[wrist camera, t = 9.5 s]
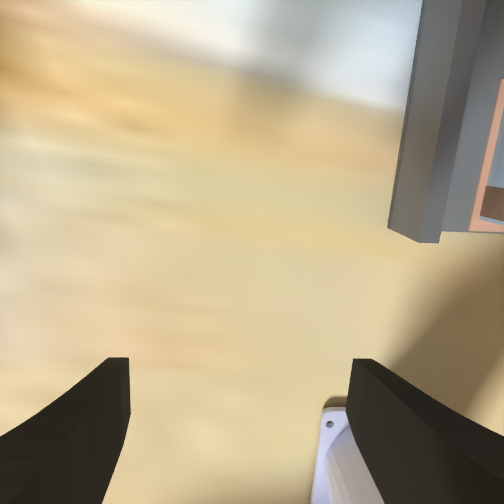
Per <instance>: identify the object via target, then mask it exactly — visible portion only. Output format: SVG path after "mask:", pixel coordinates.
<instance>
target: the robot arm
mask: <svg viewBox="0 0 504 504" xmlns="http://www.w3.org/2000/svg"><path fill="white" fill-rule="evenodd" d="M130 415H131V408H130V377H129V358H107V359H106V360H105V361H104V362H102V363H101V364H100V365H99V366H98V367H96V368H95V369H94V370H93V371H92V372H90V373H89V374H88V375H87V376H86V377H84V378H83V379H82V380H81V381H79V382H78V383H77V384H76V385H74V386H73V387H72V388H71V389H70V390H68V391H67V392H66V393H64V394H63V395H62V396H60V397H59V398H58V399H56V400H55V401H53V402H52V403H51V404H49V405H48V406H47V407H45V408H44V409H43V410H41V411H40V412H38V413H37V414H36V415H34V416H33V417H31V418H30V419H28V420H26V421H25V422H23V423H22V424H20V425H19V426H17V427H15V428H14V429H12V430H10V431H9V432H7V433H5V434H4V435H2V436H0V504H102V502H103V499H104V496H105V494H106V491H107V488H108V486H109V483H110V480H111V478H112V475H113V472H114V469H115V467H116V464H117V461H118V458H119V456H120V453H121V450H122V447H123V444H124V440H125V436H126V432H127V428H128V423H129V419H130ZM328 421H332V422H330V423H328V424H327V422H328ZM310 504H504V436H502V435H500V434H498V433H496V432H493V431H491V430H489V429H487V428H485V427H483V426H481V425H479V424H477V423H476V422H474V421H472V420H470V419H468V418H466V417H464V416H462V415H460V414H459V413H457V412H455V411H453V410H452V409H450V408H448V407H447V406H445V405H443V404H441V403H440V402H438V401H436V400H435V399H433V398H432V397H430V396H428V395H427V394H425V393H424V392H422V391H421V390H419V389H417V388H416V387H414V386H413V385H411V384H410V383H408V382H407V381H405V380H404V379H402V378H401V377H399V376H398V375H396V374H395V373H393V372H392V371H390V370H389V369H387V368H386V367H384V366H383V365H381V364H380V363H378V362H376V361H374V360H373V359H353V363H352V370H351V377H350V384H349V390H348V397H347V404H346V407H328V408H325V409H324V410H323V411H322V414H321V422H320V430H319V438H318V446H317V453H316V461H315V469H314V477H313V485H312V493H311V501H310Z"/></svg>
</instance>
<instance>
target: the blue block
mask: <svg viewBox="0 0 504 504" xmlns="http://www.w3.org/2000/svg"><path fill="white" fill-rule="evenodd" d="M479 219H480V220H484V221H488V222H491V223H495V224H499V225H502V226H504V108H503V113H502V117H501V122H500V127H499V131H498V136H497V140H496V145H495V150H494V154H493V159H492V163H491V168H490V173H489V177H488V182H487V186H486V188H485V193H484V197H483V202H482V207H481V211H480V218H479Z"/></svg>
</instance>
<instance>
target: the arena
mask: <svg viewBox="0 0 504 504" xmlns="http://www.w3.org/2000/svg"><path fill="white" fill-rule="evenodd" d="M503 108H504V0H423V3H422V10H421V16H420V22H419V29H418V35H417V42H416V48H415V54H414V61H413V67H412V73H411V80H410V86H409V92H408V99H407V105H406V112H405V118H404V124H403V131H402V137H401V143H400V150H399V156H398V163H397V169H396V175H395V182H394V188H393V194H392V201H391V207H390V213H389V220H388V226H387V228H389V229H391V230H393V231H395V232H398V233H400V234H402V235H404V236H406V237H408V238H410V239H412V240H414V241H416V242H418V243H439V239H440V234H441V231H449V232H474V233H498V234H504V226H502V225H499V224H495V223H491V222H488V221H484V220H480V219H479V218H480V211H481V207H482V202H483V197H484V193H485V188H486V186H487V182H488V177H489V173H490V168H491V163H492V159H493V154H494V150H495V145H496V140H497V136H498V131H499V127H500V122H501V117H502V113H503Z"/></svg>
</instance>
